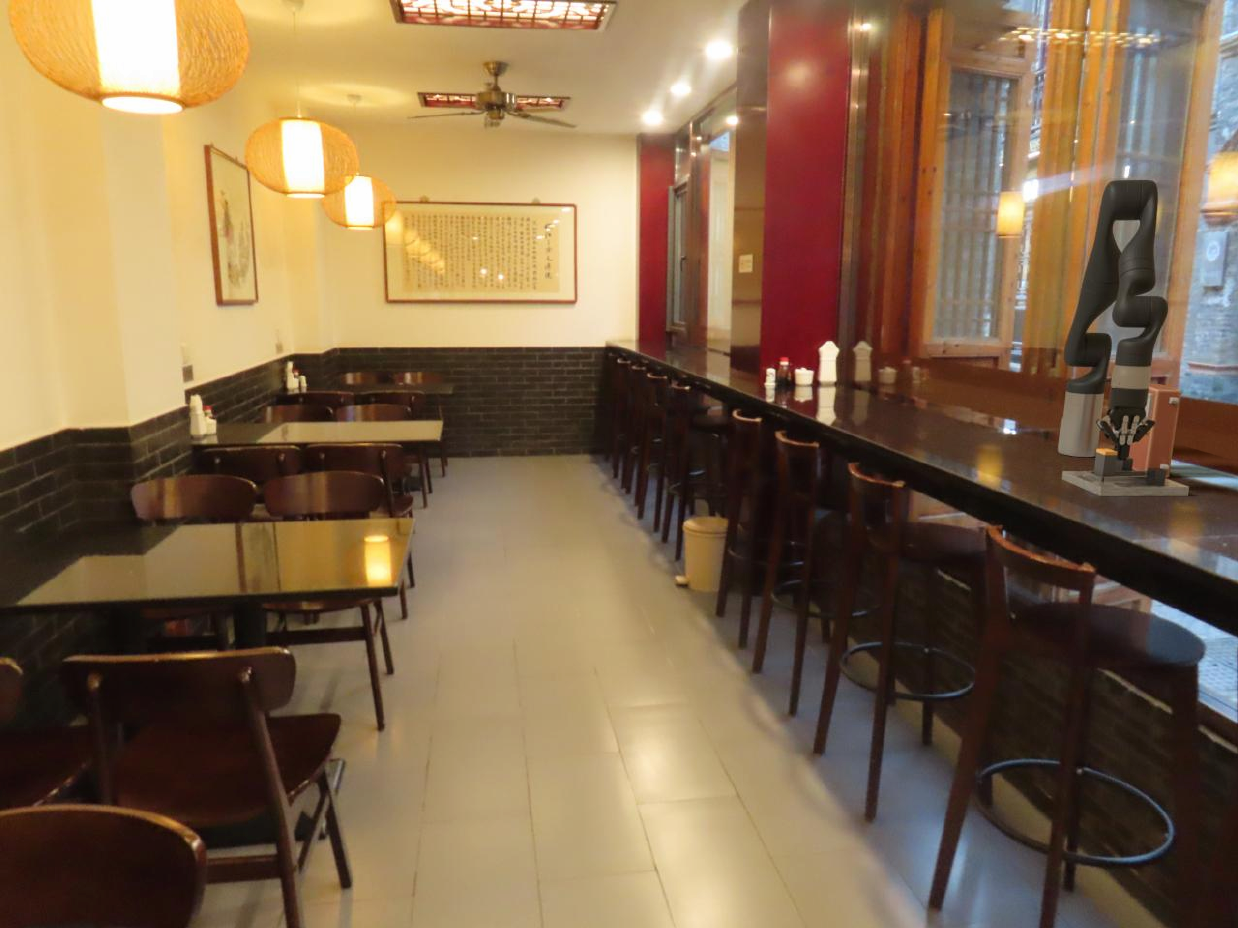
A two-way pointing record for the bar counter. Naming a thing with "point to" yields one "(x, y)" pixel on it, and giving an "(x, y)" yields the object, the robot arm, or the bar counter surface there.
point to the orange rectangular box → (1158, 430)
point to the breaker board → (1127, 482)
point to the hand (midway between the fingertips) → (1120, 459)
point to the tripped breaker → (1105, 462)
